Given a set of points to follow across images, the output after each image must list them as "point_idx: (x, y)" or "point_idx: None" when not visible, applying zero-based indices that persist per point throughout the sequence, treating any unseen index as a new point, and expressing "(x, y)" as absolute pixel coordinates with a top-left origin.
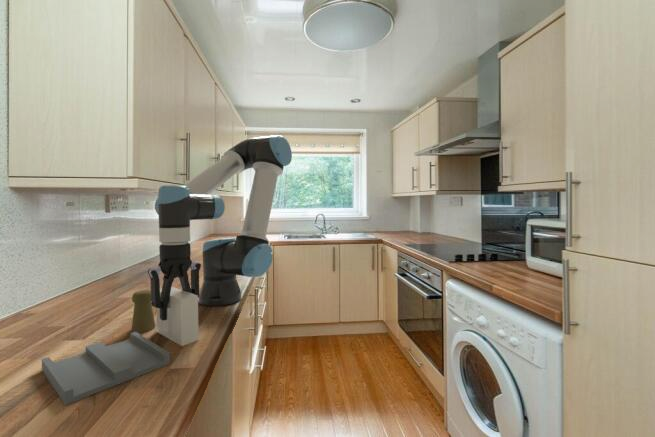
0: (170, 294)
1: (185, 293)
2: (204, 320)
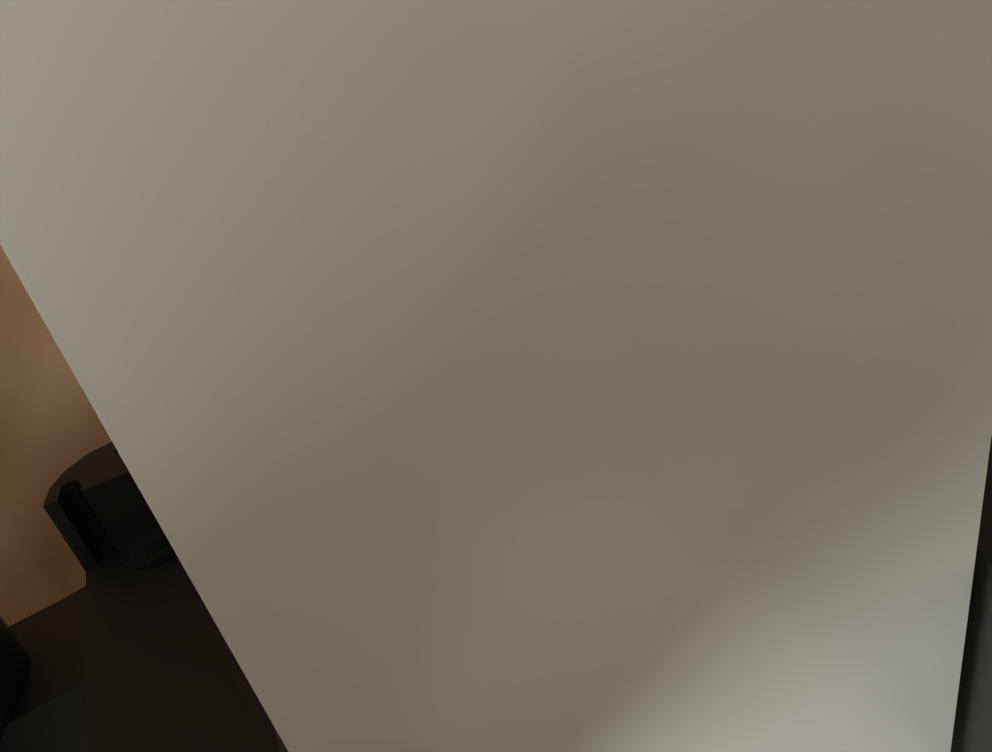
0: (902, 651)
1: (402, 530)
2: (8, 540)
